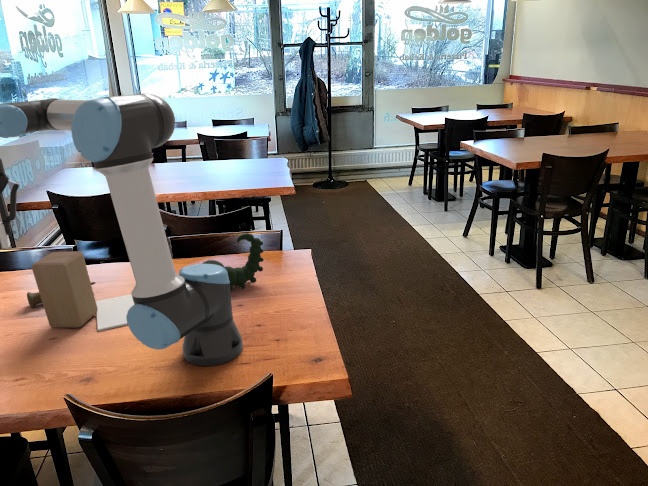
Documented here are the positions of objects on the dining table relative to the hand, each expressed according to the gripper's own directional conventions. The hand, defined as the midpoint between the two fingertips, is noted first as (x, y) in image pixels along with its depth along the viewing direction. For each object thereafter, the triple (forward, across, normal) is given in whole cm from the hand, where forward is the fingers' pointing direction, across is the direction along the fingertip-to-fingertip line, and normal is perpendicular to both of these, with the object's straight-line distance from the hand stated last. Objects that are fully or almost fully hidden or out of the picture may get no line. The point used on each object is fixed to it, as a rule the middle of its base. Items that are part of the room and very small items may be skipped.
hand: (6, 246), depth 138 cm
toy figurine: (+26, -58, 0) cm, 64 cm away
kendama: (+26, -9, -18) cm, 33 cm away
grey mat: (+25, -27, 0) cm, 37 cm away
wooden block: (+25, -12, 0) cm, 28 cm away
